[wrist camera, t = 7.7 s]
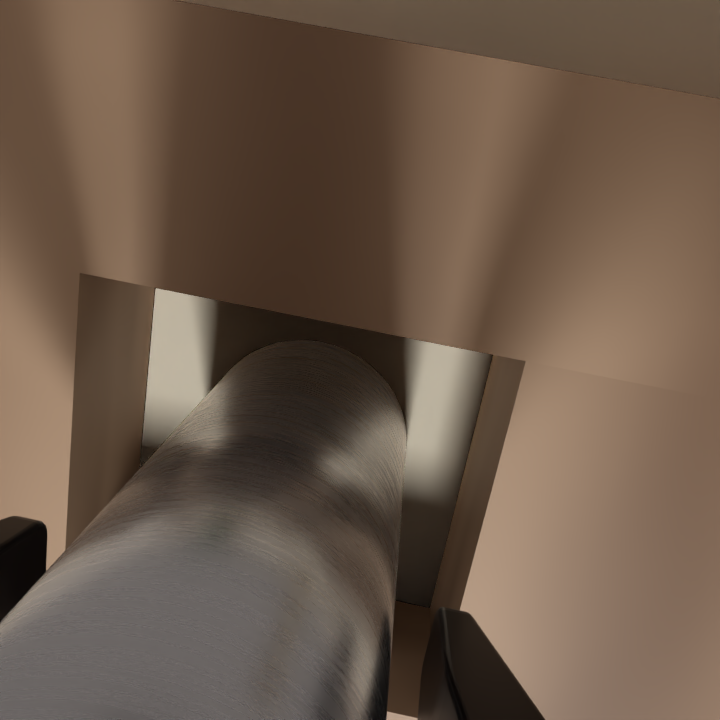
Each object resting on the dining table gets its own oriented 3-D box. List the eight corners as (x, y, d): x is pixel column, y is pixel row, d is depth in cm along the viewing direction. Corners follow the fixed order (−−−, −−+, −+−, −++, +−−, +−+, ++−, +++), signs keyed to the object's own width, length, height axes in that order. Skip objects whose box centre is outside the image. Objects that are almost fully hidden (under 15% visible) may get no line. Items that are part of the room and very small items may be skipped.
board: (971, 171, 11) (1161, 178, 8) (691, 809, 15) (753, 962, 12) (-200, -42, 12) (-402, -104, 9) (-157, 621, 16) (-283, 722, 13)
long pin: (425, 362, 13) (419, 960, 3) (385, 543, 14) (298, 1362, 5) (219, 321, 13) (-348, 779, 3) (197, 504, 14) (-269, 1215, 5)
